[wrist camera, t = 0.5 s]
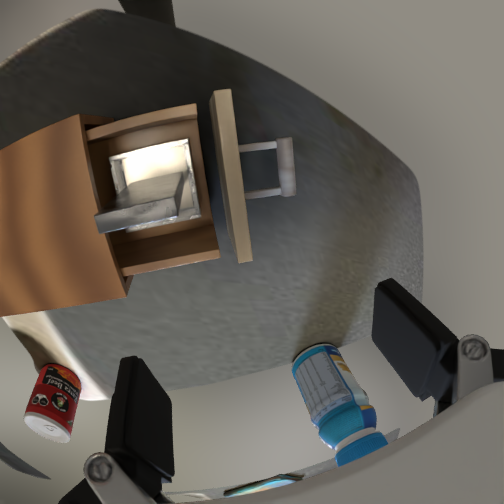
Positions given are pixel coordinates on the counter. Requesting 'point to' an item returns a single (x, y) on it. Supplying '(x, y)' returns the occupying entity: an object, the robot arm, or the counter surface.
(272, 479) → the dish towel
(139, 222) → the silver open box
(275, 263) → the counter surface
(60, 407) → the canned food
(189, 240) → the drawer
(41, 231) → the cabinet
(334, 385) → the beverage bottle
